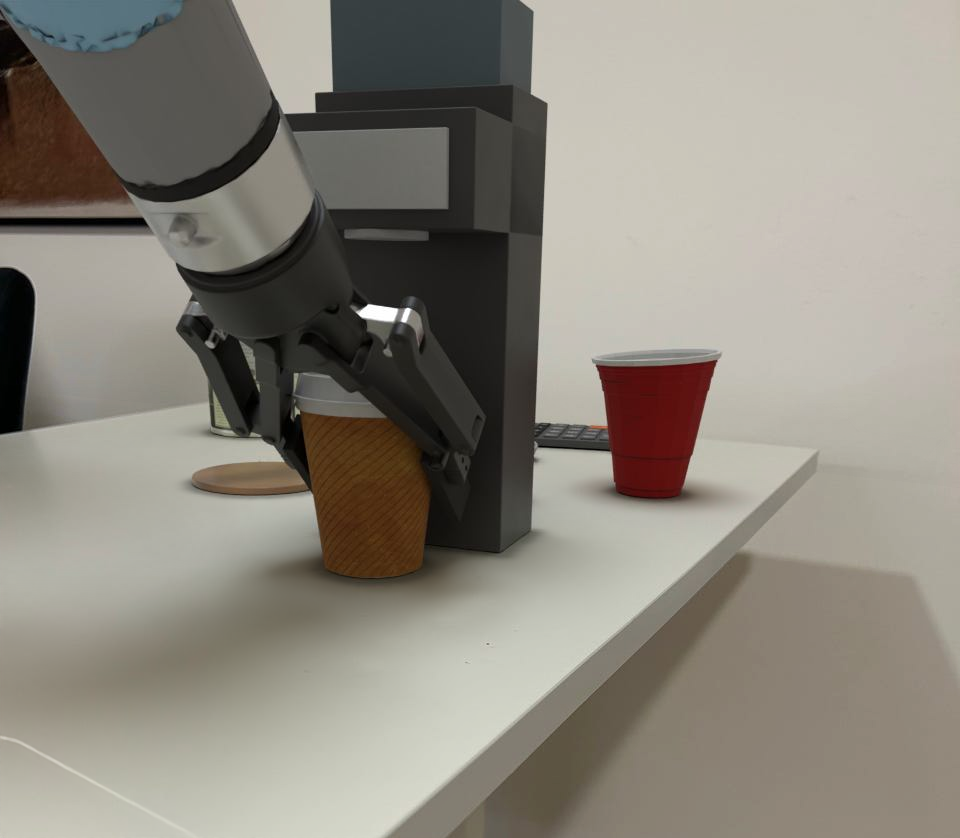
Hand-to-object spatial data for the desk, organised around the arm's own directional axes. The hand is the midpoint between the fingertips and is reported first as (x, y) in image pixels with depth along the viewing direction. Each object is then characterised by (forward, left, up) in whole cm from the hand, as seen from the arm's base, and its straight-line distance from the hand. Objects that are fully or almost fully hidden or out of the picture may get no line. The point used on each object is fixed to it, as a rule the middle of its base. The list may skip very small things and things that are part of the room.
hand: (395, 497), depth 65 cm
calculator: (-12, +50, -4) cm, 51 cm away
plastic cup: (+7, +29, -4) cm, 30 cm away
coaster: (-23, +13, -4) cm, 27 cm away
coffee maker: (-1, +3, -4) cm, 5 cm away
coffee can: (-43, +34, -4) cm, 55 cm away
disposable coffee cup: (+1, -3, -4) cm, 5 cm away
